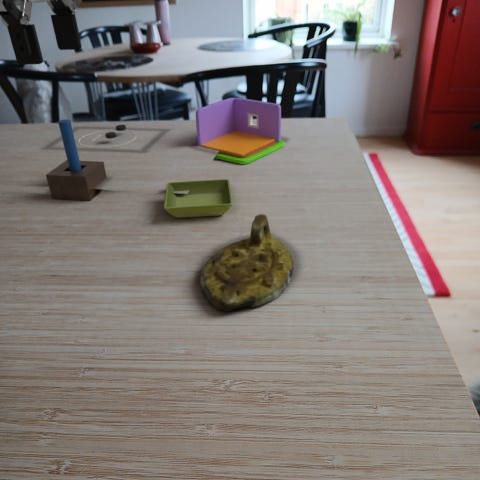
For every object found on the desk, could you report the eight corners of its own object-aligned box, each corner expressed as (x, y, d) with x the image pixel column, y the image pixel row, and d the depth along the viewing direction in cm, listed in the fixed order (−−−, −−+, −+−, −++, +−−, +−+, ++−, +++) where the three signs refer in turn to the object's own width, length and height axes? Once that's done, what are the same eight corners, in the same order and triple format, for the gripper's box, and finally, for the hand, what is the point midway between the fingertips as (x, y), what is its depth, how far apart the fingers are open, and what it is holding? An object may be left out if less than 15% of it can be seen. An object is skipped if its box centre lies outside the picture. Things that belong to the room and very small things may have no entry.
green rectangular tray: (230, 192, 73) (229, 178, 71) (233, 219, 66) (233, 203, 64) (168, 196, 72) (166, 182, 71) (165, 223, 65) (163, 208, 64)
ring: (47, 153, 89) (45, 147, 89) (78, 132, 99) (77, 126, 98) (143, 157, 86) (142, 150, 85) (167, 135, 95) (166, 129, 95)
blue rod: (73, 193, 75) (55, 122, 69) (78, 189, 76) (61, 119, 70) (83, 193, 74) (66, 122, 68) (88, 189, 75) (72, 119, 69)
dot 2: (114, 130, 92) (113, 127, 92) (118, 127, 93) (117, 124, 93) (123, 131, 92) (123, 127, 91) (127, 128, 93) (127, 124, 93)
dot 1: (104, 138, 89) (103, 135, 88) (108, 135, 90) (107, 131, 90) (113, 138, 88) (113, 135, 88) (117, 135, 90) (117, 132, 89)
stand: (51, 198, 73) (45, 174, 71) (71, 182, 78) (66, 160, 76) (90, 201, 72) (85, 176, 70) (108, 184, 77) (103, 161, 75)
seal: (276, 330, 48) (300, 251, 60) (282, 289, 45) (306, 215, 57) (182, 310, 50) (223, 237, 61) (182, 269, 47) (225, 200, 58)
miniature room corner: (233, 133, 94) (232, 94, 90) (287, 144, 88) (288, 102, 84) (189, 152, 87) (185, 110, 83) (244, 165, 81) (243, 121, 77)
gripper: (22, -115, 62) (58, 45, 72) (-80, -129, 48) (-17, 70, 58) (78, -120, 60) (108, 44, 70) (-10, -136, 47) (42, 70, 57)
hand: (51, 56), depth 64 cm, fingers open, 9 cm apart
